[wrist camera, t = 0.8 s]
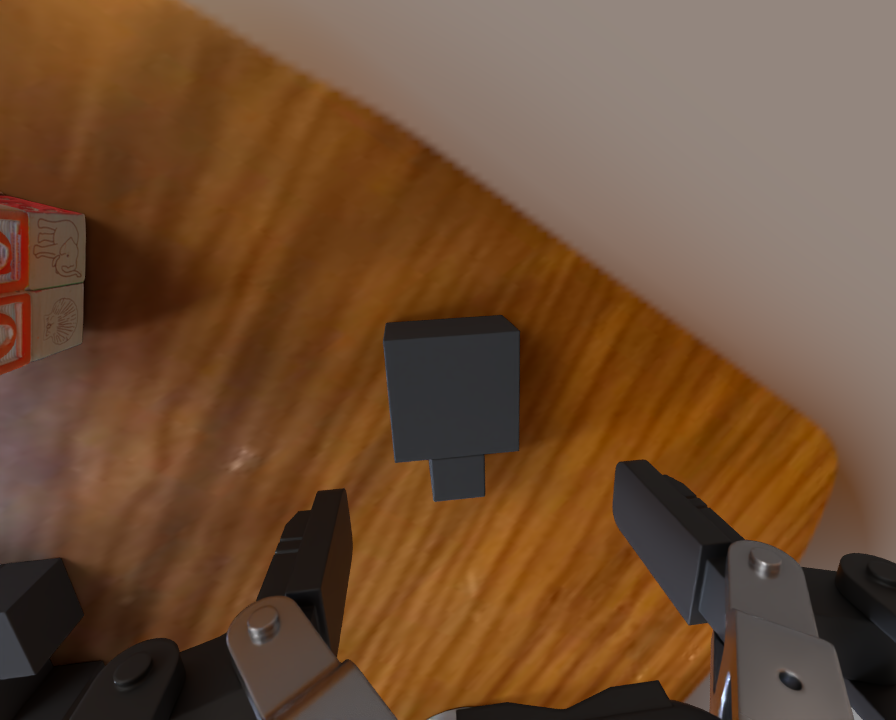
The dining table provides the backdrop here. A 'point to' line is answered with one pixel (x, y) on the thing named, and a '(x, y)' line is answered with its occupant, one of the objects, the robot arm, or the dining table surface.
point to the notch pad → (39, 642)
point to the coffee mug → (446, 715)
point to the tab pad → (453, 397)
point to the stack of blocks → (39, 281)
